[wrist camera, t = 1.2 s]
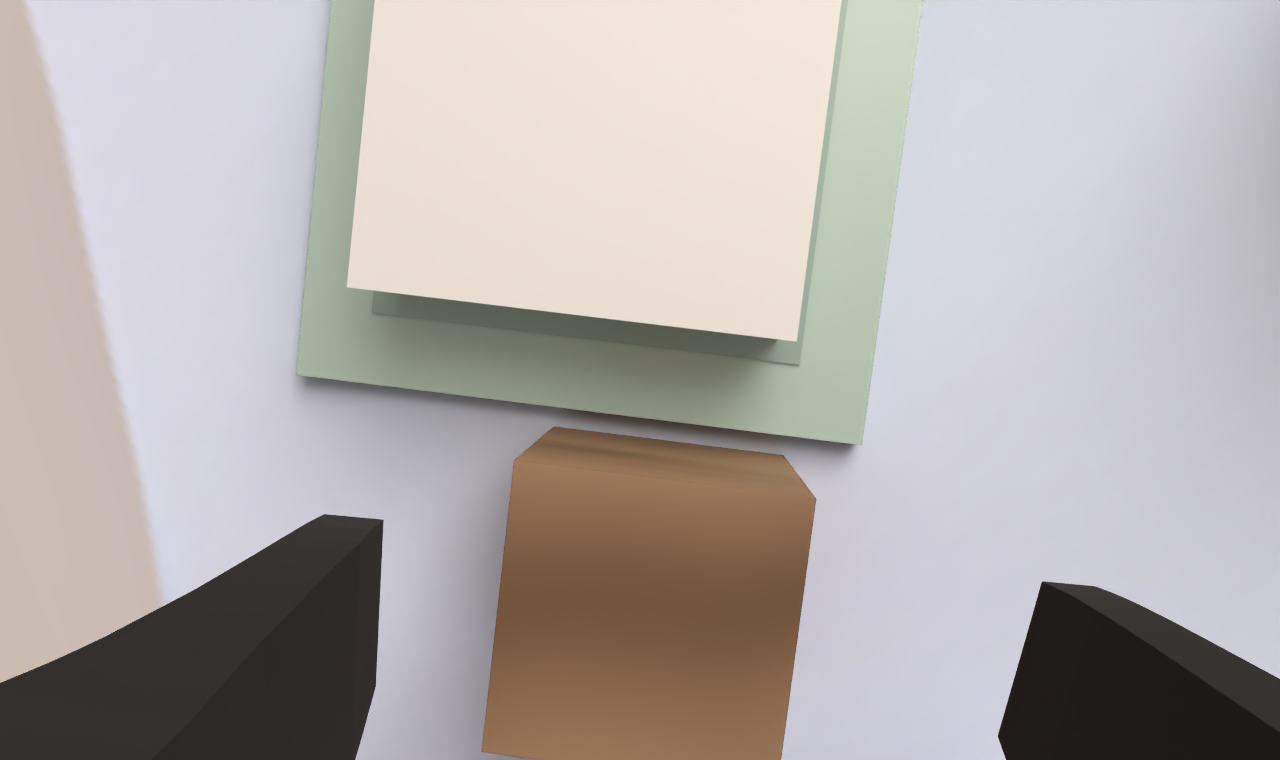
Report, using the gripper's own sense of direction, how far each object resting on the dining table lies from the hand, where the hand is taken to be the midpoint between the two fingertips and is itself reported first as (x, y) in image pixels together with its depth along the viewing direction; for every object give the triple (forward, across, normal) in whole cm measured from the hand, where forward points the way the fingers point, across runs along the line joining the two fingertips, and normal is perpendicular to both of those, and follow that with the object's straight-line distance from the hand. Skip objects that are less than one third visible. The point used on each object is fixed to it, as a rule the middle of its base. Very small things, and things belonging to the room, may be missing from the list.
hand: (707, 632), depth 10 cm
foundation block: (+11, +2, -5) cm, 12 cm away
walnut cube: (+10, 0, +4) cm, 10 cm away
